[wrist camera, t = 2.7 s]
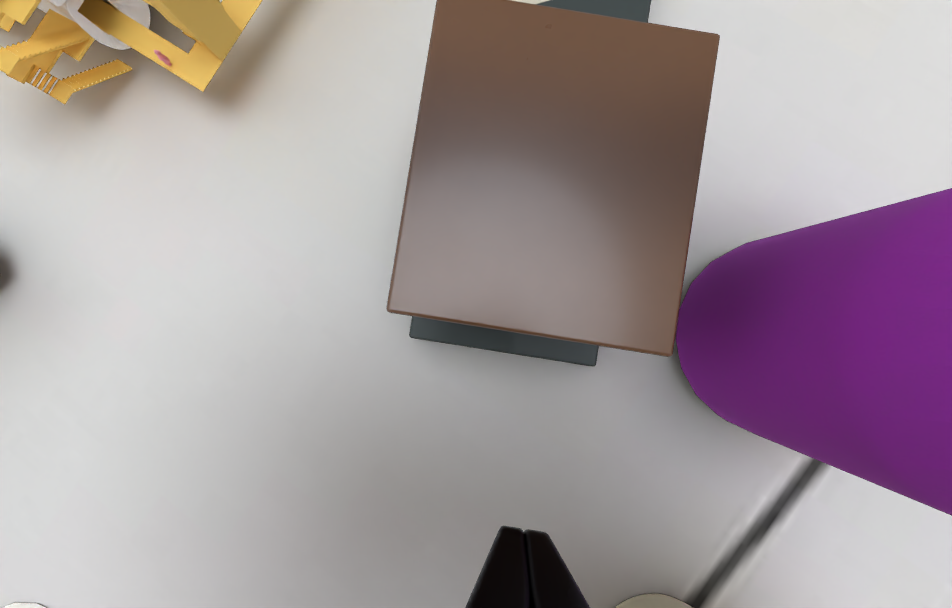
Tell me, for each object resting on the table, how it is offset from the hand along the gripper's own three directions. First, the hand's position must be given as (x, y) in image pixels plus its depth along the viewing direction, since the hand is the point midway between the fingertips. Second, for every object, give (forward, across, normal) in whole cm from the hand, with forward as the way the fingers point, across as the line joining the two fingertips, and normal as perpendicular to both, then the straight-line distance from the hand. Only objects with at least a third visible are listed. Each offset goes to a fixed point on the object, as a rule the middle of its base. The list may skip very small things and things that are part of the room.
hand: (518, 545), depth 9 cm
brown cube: (+13, 0, -3) cm, 13 cm away
